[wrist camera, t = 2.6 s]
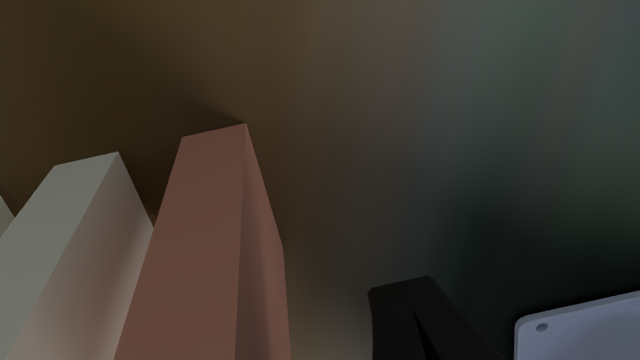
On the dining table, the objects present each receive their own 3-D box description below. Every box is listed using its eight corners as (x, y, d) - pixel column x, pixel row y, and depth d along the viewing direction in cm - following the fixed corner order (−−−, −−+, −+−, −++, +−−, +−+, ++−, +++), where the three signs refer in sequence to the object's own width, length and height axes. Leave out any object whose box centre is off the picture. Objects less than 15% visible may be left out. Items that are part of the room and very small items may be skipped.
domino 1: (118, 151, 15) (-34, 430, 7) (174, 272, 17) (107, 573, 10) (54, 165, 15) (-167, 459, 7) (119, 284, 17) (9, 594, 10)
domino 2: (245, 122, 15) (233, 369, 7) (283, 248, 17) (303, 529, 10) (182, 137, 15) (100, 400, 7) (228, 260, 17) (205, 551, 10)
